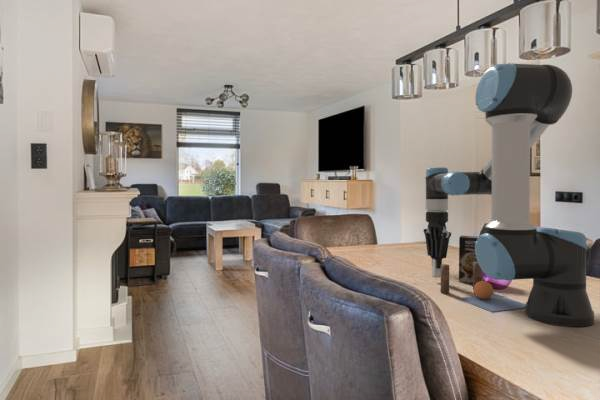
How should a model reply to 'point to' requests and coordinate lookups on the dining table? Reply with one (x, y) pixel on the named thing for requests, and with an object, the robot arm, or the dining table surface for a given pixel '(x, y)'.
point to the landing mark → (494, 303)
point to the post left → (444, 278)
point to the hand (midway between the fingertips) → (436, 276)
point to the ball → (483, 290)
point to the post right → (476, 273)
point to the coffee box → (466, 258)
